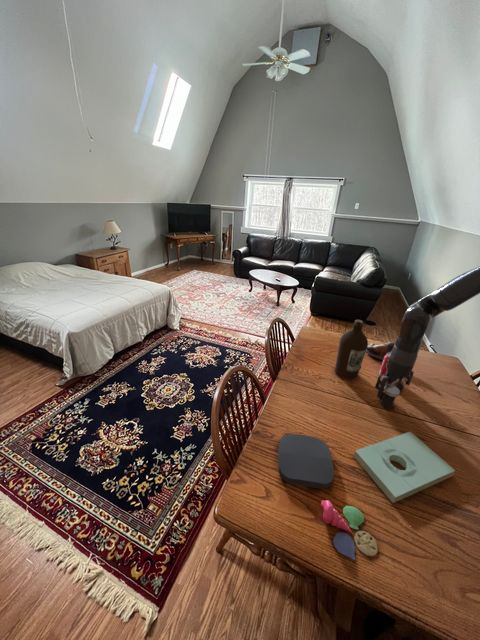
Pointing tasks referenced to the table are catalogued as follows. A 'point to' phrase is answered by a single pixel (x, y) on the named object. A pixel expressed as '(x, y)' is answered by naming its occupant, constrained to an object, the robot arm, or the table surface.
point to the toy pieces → (343, 539)
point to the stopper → (390, 396)
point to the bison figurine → (379, 350)
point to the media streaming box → (305, 461)
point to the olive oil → (351, 352)
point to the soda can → (385, 365)
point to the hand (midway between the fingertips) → (388, 396)
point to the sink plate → (415, 459)
